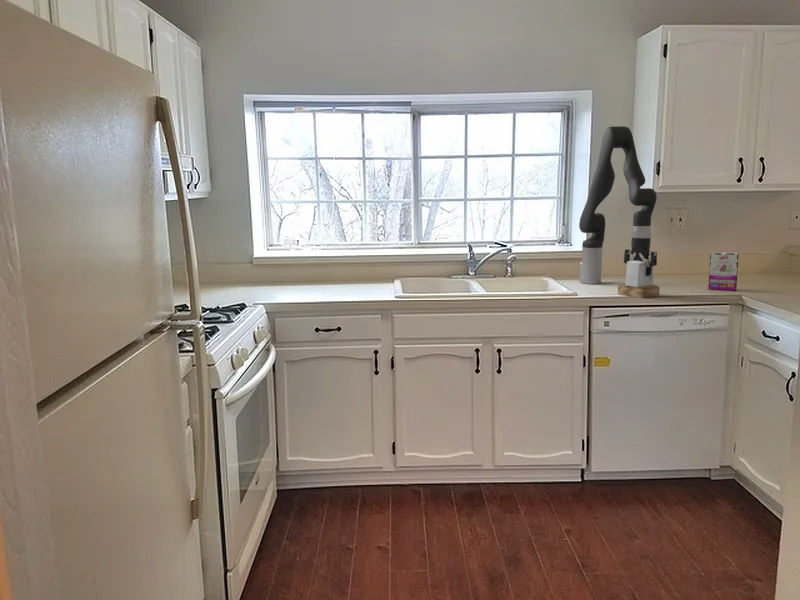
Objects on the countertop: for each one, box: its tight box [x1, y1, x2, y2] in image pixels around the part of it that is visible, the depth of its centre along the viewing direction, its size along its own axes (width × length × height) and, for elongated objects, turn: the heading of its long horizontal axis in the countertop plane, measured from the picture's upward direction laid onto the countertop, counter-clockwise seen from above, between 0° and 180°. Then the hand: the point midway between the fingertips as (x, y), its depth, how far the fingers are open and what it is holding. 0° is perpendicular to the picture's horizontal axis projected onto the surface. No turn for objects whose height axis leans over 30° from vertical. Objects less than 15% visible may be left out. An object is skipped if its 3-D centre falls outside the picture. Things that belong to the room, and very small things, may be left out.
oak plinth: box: [617, 283, 661, 299], centre depth 269 cm, size 12×12×4 cm
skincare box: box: [625, 260, 655, 287], centre depth 268 cm, size 10×6×10 cm, turn 124°
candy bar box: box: [708, 251, 739, 291], centre depth 277 cm, size 11×5×16 cm, turn 62°
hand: (639, 274), depth 268 cm, fingers open, 8 cm apart
